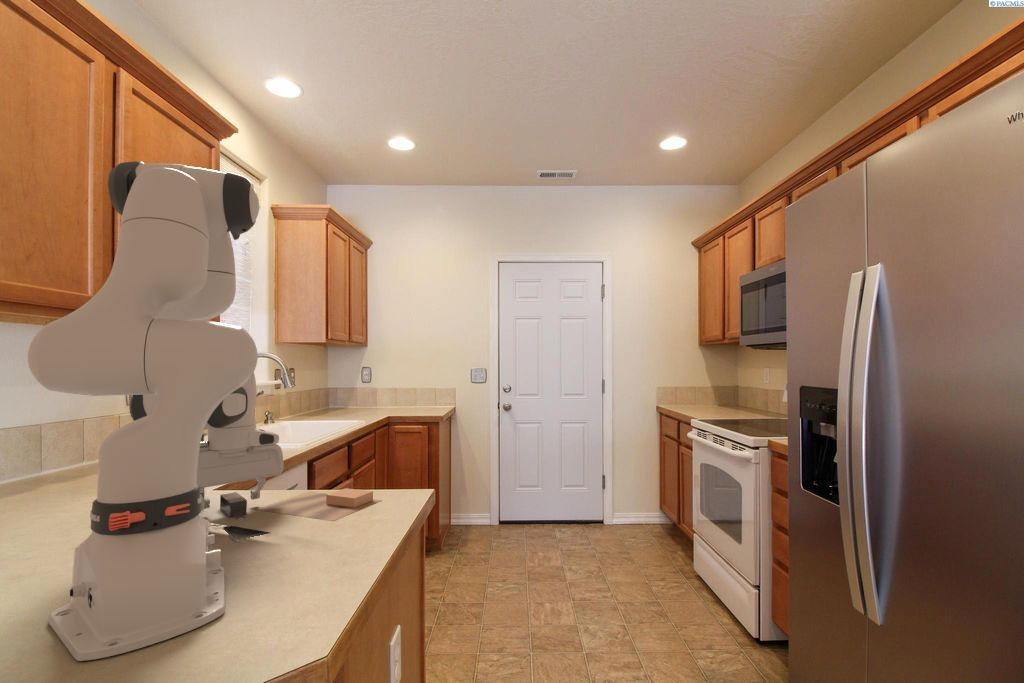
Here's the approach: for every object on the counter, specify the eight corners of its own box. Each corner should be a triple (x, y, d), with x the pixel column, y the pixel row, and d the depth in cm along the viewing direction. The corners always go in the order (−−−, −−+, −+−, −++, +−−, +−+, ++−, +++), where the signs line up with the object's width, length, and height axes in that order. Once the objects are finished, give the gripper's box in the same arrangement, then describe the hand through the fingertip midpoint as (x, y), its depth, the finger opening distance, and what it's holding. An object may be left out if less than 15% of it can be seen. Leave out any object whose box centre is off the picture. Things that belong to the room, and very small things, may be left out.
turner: (270, 533, 87) (270, 509, 87) (234, 541, 83) (235, 516, 83) (243, 511, 101) (243, 490, 102) (211, 517, 97) (212, 496, 97)
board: (382, 507, 103) (382, 500, 103) (333, 528, 89) (333, 521, 89) (309, 498, 111) (309, 491, 111) (254, 516, 97) (254, 509, 97)
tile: (345, 497, 106) (372, 500, 103) (326, 504, 100) (354, 508, 97) (345, 488, 106) (373, 491, 103) (326, 494, 100) (354, 498, 97)
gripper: (175, 447, 88) (173, 519, 87) (286, 434, 102) (285, 496, 101) (170, 443, 92) (168, 511, 91) (277, 431, 107) (276, 490, 106)
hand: (230, 503), depth 97 cm, fingers open, 8 cm apart
